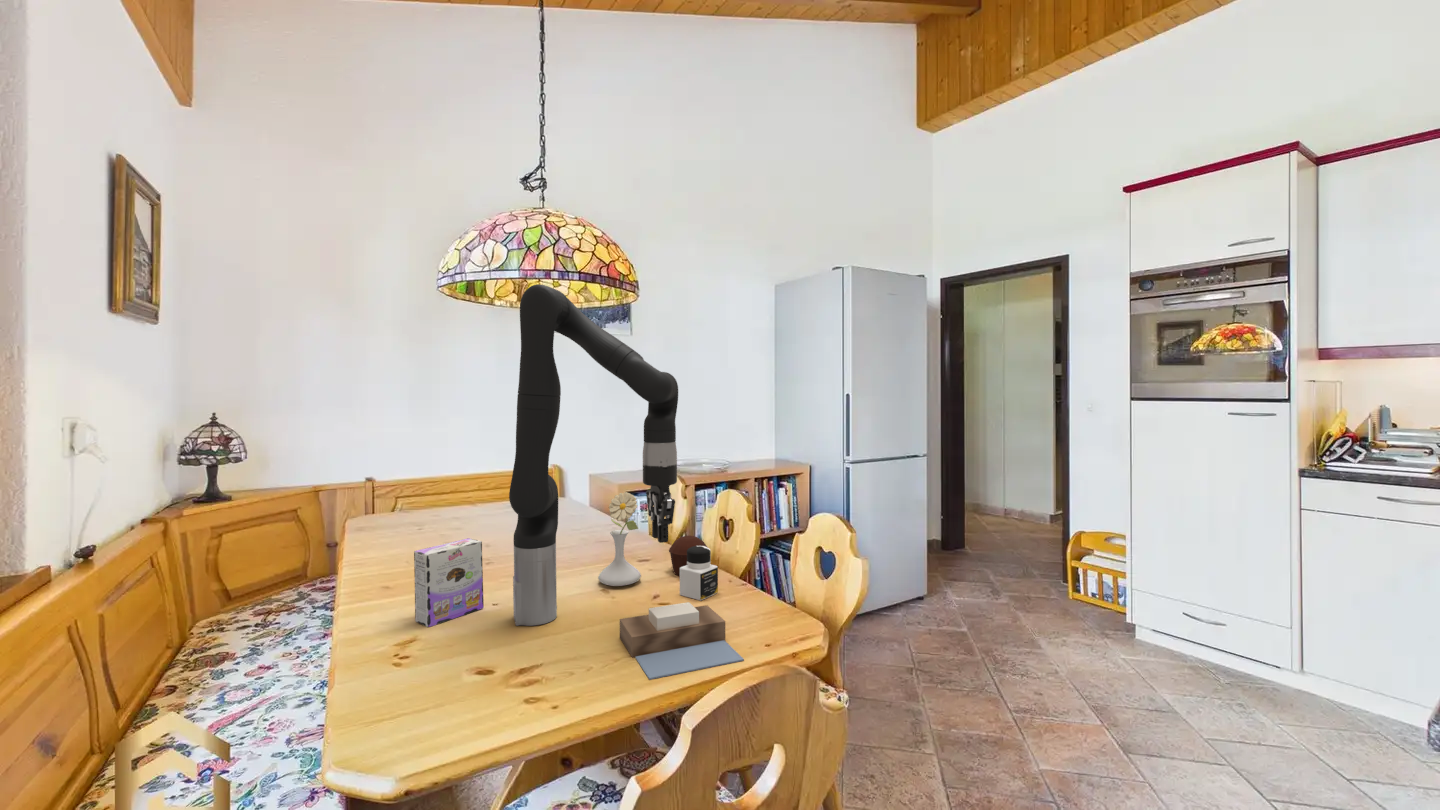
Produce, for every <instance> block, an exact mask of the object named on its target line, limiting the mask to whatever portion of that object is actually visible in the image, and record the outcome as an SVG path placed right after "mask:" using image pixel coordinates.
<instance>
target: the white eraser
mask: <svg viewBox="0 0 1440 810" xmlns="http://www.w3.org/2000/svg"><path fill="white" fill-rule="evenodd" d="M695 607H696V606H694V605H693V604H692V603H691V602H688V601H687V602H682V603H674V604H668V605H662V606H655V607H649V608H648V614H649V621H650V622H651V623H652V625H653V626H654V627H655V628H656V630H657V631H659V630H665V629H671V628H677V627H683V626H688V625H694V624H699V611H698V610H697V609H696V608H695Z"/></svg>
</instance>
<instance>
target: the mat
mask: <svg viewBox="0 0 1440 810" xmlns="http://www.w3.org/2000/svg"><path fill="white" fill-rule="evenodd" d="M634 658H635V660H636V661H637V663H638V665H639V666H640V668H641V669H642V670H643V673H644V674H645V676H646V677H647V678H648V680H649V681H650V680H654V679H660V678H665V677H669V676H674V675H675V676H676V675H680V674H685V673H689V672H690V673H691V672H693V671H694V672H696V671H700V670H704V669H709V668H710V669H711V668H713V667H714V668H715V667H720V666H724V665H729V664H730V665H731V664H734V663H739V662H743V661H745V658H743V656H741V655H740V654H739V653H738V652H737V651H736V650H735V649H734V648H733V647H732V646H731V645H730V644H729V643H728V642H727V641H726V639H725V640H722V641H716V642H711V643H705V644H700V645H695V646H689V647H684V648H678V649H673V650H668V651H662V652H657V653H651V654H646V655H641V656H635V657H634Z"/></svg>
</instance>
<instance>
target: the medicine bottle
mask: <svg viewBox="0 0 1440 810" xmlns="http://www.w3.org/2000/svg"><path fill="white" fill-rule="evenodd" d="M711 557H712V556H711V548H709V547H708V546H707V547H705V546H693V547H690V548H688V550H687V564H688V565H686V566H683V567H680V576H679V595H680V596H682V597H686V598H690V599H693V600H697V601H701V602H702V601H704V600H706V599H708V598H710V597H712V596H715V595H716V594H718V592H719V585H718V584H719V582H718V581H719V566H717V565H715V564H711V560H712V559H711Z"/></svg>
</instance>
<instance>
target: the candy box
mask: <svg viewBox="0 0 1440 810" xmlns="http://www.w3.org/2000/svg"><path fill="white" fill-rule="evenodd" d="M413 561H414V562H413V563H414V564H413V565H414V614H415V615H414V616H415V617H414V621H415V622H416V623H418V624H419V625H422V626H424V627H426V628H430V627H434V626H436V625H439V624H442V623H445V622H448V621H451V620H453V619H456V618H459V617H462V616H465V615H468V614H471V613H473V612H476V611H479V610H482V609H484V608H485V607H484V606H485V605H484V577H483V576H484V575H483V574H484V573H483V571H484V570H483V569H484V568H483V541H482V540H478V539H474V538H465V539H461V540H455V541H451V542H447V543H443V544H439V545H434V546H431V547H426V548H422V549H418V550H414V552H413Z"/></svg>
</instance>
